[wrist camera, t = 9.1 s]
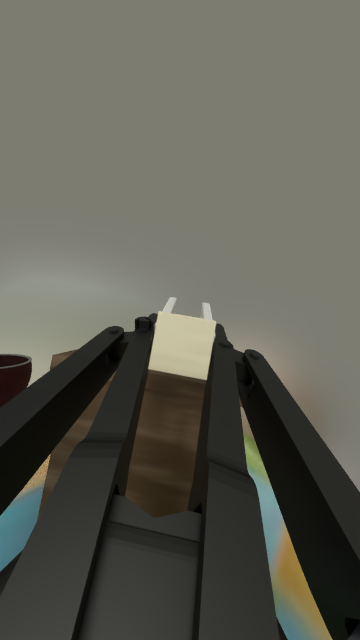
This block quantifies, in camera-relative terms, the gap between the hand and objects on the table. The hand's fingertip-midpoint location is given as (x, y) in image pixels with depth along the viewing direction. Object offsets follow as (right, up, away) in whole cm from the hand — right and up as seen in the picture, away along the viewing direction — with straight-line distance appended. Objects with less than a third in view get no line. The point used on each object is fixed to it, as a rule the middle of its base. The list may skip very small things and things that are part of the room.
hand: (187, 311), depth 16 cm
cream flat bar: (-1, -4, +3) cm, 5 cm away
